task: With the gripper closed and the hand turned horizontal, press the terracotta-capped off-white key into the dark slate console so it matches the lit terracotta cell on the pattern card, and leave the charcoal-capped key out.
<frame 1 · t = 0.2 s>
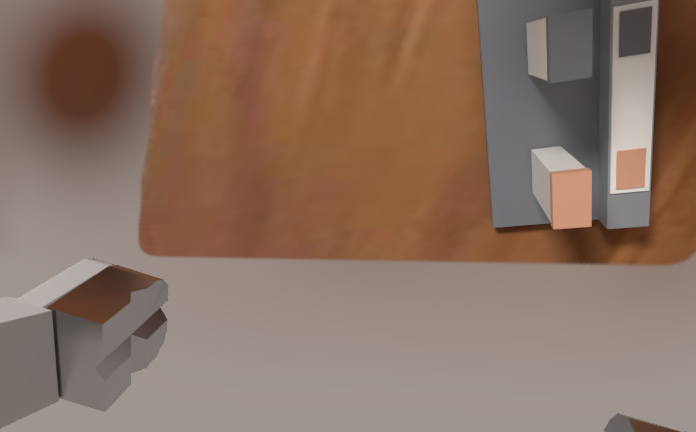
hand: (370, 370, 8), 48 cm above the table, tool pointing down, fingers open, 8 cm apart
charcoal key: (555, 46, 42), point 7 cm above the table, slide at 0.0 cm
key console: (560, 106, 50), on the table
terracotta key: (557, 183, 46), point 7 cm above the table, slide at 0.0 cm
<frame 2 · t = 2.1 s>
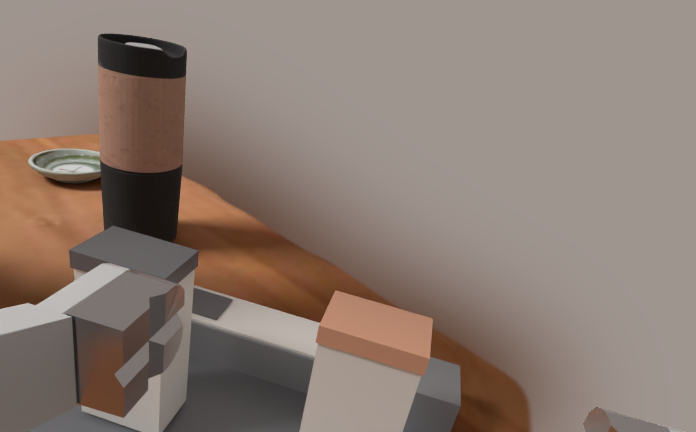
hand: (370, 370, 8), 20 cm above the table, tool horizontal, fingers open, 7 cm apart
saucer: (74, 178, 60), on the table
charcoal key: (136, 334, 26), point 7 cm above the table, slide at 0.0 cm
travel mug: (141, 235, 50), on the table
terracotta key: (356, 404, 24), point 7 cm above the table, slide at 0.0 cm
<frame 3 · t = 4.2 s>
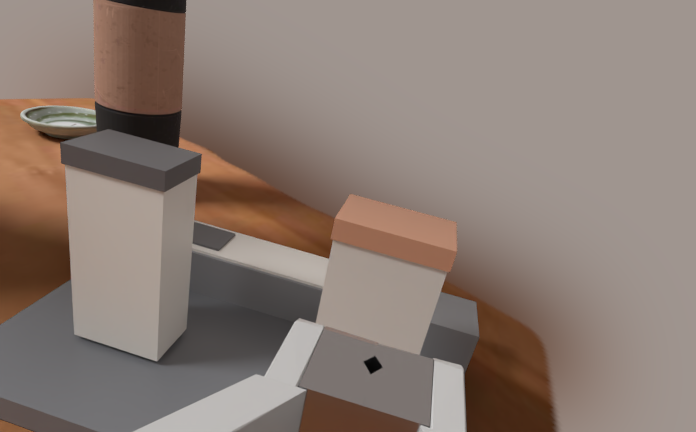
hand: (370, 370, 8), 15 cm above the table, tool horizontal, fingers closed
saucer: (68, 135, 58), on the table
charcoal key: (133, 248, 24), point 7 cm above the table, slide at 0.0 cm
key console: (249, 366, 28), on the table
travel mug: (138, 187, 48), on the table
terracotta key: (372, 319, 23), point 7 cm above the table, slide at 0.0 cm
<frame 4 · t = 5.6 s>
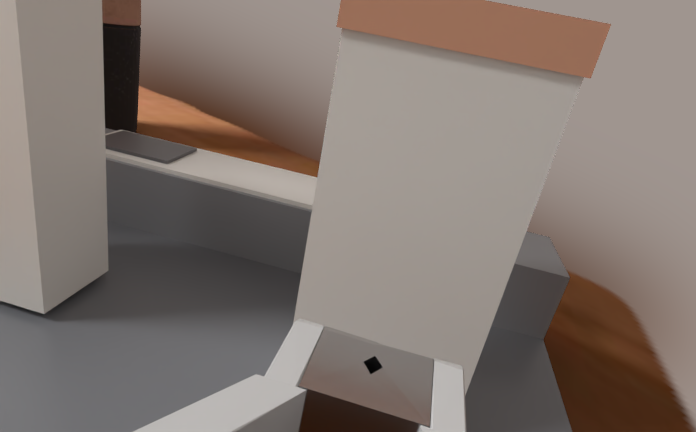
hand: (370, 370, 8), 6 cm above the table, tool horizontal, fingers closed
key console: (209, 330, 18), on the table
travel mug: (89, 130, 38), on the table
terracotta key: (412, 222, 13), point 7 cm above the table, slide at 0.0 cm
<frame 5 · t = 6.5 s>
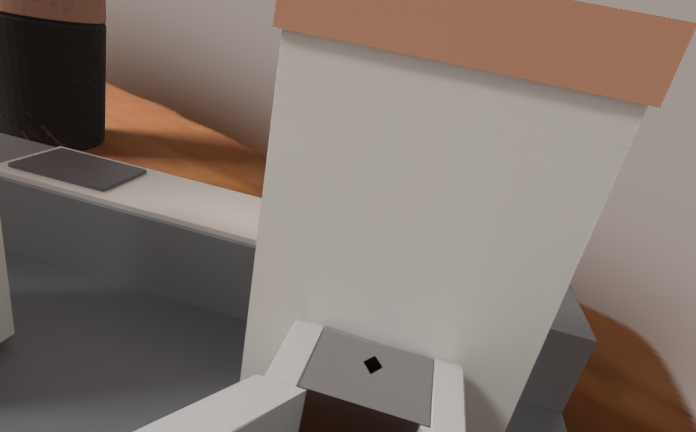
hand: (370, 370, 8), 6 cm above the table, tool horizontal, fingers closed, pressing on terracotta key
key console: (146, 405, 14), on the table
travel mug: (51, 139, 34), on the table
terracotta key: (394, 288, 9), point 7 cm above the table, slide at 0.5 cm, touching gripper
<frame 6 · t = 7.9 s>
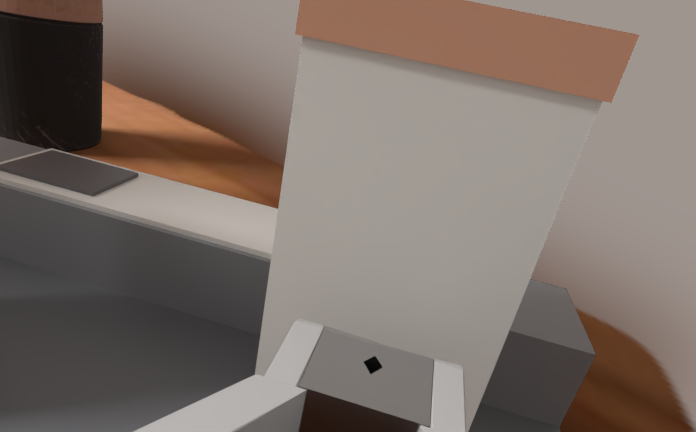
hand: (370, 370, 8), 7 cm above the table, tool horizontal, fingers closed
key console: (132, 416, 14), on the table
travel mug: (47, 139, 34), on the table
terracotta key: (394, 261, 11), point 7 cm above the table, slide at 2.4 cm
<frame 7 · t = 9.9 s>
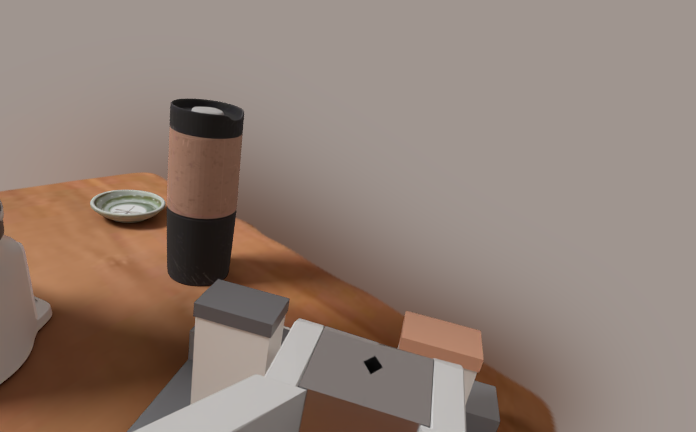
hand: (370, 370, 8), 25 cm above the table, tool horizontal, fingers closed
saucer: (129, 217, 66), on the table
charcoal key: (236, 367, 32), point 7 cm above the table, slide at 0.0 cm
travel mug: (198, 272, 56), on the table
terracotta key: (423, 397, 32), point 7 cm above the table, slide at 2.4 cm
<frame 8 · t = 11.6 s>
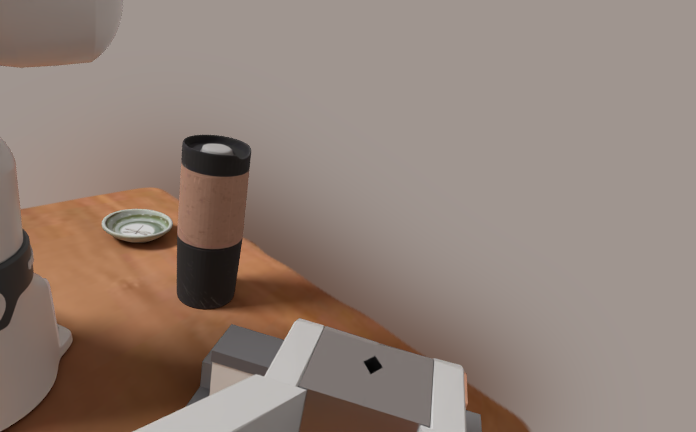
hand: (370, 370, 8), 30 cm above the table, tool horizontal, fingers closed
saucer: (138, 236, 70), on the table
charcoal key: (247, 402, 35), point 7 cm above the table, slide at 0.0 cm
travel mug: (205, 294, 59), on the table
terracotta key: (414, 430, 36), point 7 cm above the table, slide at 2.4 cm
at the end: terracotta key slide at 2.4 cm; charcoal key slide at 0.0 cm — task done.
